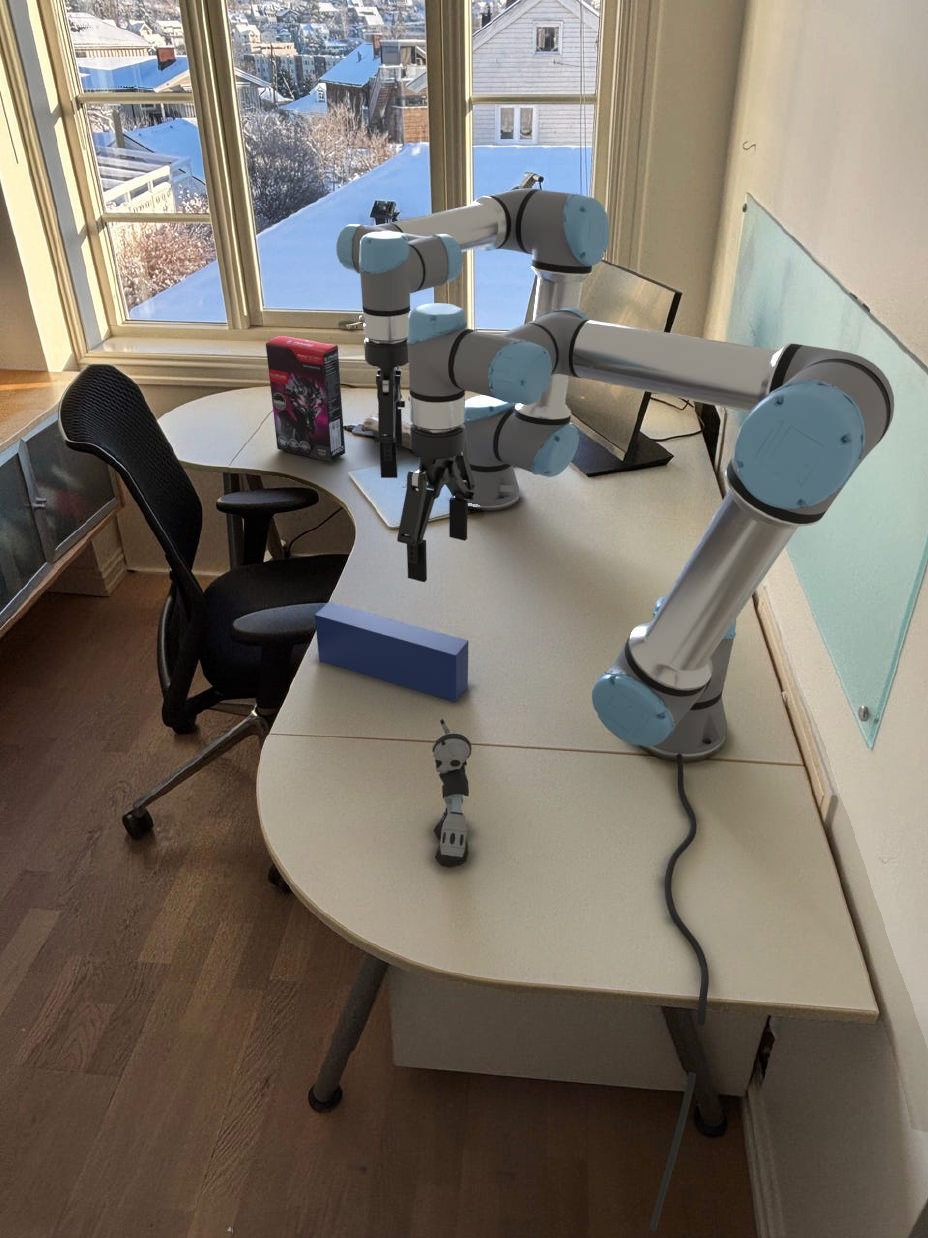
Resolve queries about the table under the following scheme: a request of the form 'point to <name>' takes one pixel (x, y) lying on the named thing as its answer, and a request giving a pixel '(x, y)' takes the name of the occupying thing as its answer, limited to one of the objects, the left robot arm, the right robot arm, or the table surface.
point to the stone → (372, 426)
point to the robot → (452, 796)
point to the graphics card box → (306, 397)
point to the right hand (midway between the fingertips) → (438, 557)
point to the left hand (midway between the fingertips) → (392, 460)
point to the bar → (393, 651)
